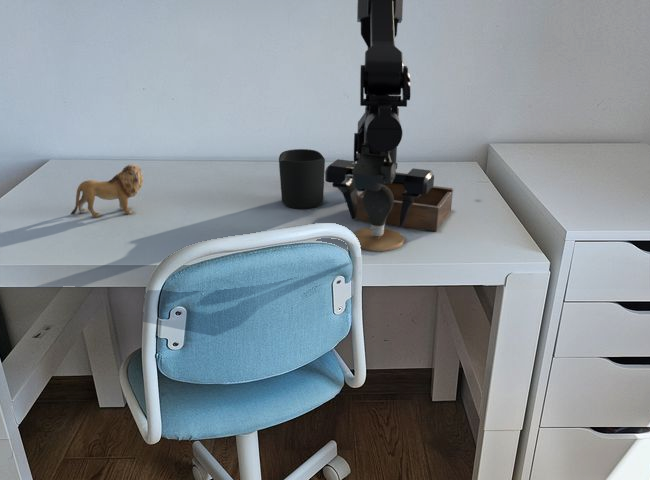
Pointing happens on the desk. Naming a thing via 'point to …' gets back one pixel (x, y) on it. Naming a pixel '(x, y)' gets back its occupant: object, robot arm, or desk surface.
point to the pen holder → (302, 178)
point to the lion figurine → (110, 190)
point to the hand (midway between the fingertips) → (377, 222)
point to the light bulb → (378, 208)
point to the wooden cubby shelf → (415, 208)
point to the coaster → (379, 240)
